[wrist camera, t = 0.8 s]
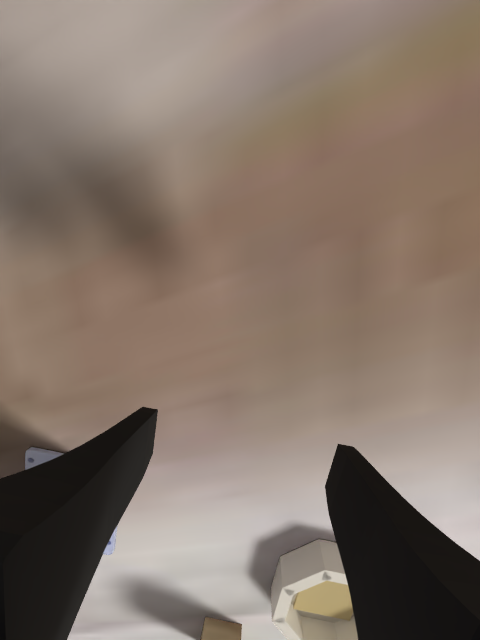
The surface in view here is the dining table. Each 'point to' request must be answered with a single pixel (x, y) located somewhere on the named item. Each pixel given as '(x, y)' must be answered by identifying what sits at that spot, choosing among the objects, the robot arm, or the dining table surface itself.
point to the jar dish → (312, 595)
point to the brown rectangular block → (220, 630)
